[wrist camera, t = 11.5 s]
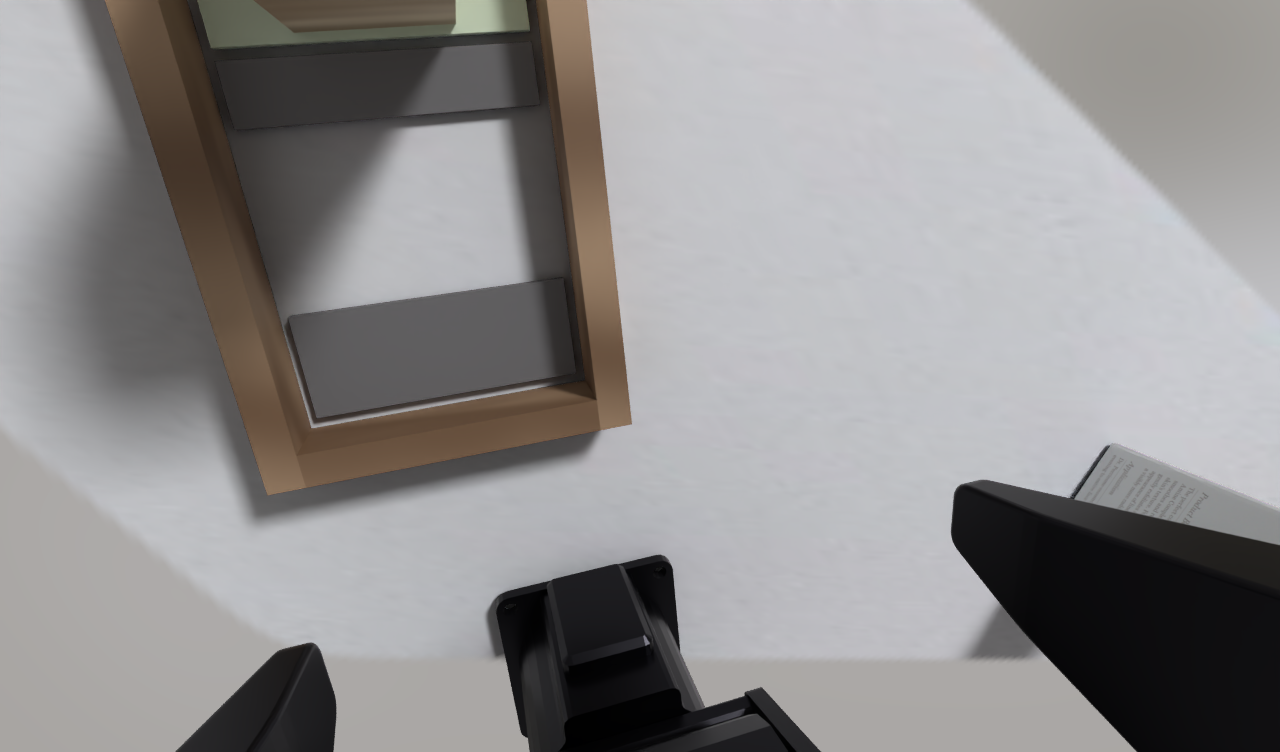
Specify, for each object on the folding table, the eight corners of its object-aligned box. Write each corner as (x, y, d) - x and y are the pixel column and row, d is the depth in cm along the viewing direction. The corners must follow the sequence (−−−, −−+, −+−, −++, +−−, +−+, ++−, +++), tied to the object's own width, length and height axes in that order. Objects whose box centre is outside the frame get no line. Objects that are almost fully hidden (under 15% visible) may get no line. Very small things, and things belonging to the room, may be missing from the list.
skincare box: (1087, 573, 31) (1435, 800, 20) (1030, 546, 30) (1375, 777, 18) (1163, 466, 30) (1573, 642, 19) (1108, 431, 29) (1521, 601, 17)
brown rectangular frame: (617, 402, 22) (632, 424, 20) (285, 464, 20) (267, 495, 18) (549, -195, 16) (561, -240, 15) (76, -203, 14) (20, -257, 12)
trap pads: (574, 370, 21) (576, 372, 21) (318, 414, 20) (316, 418, 19) (530, 43, 18) (531, 41, 18) (218, 62, 16) (214, 60, 16)
